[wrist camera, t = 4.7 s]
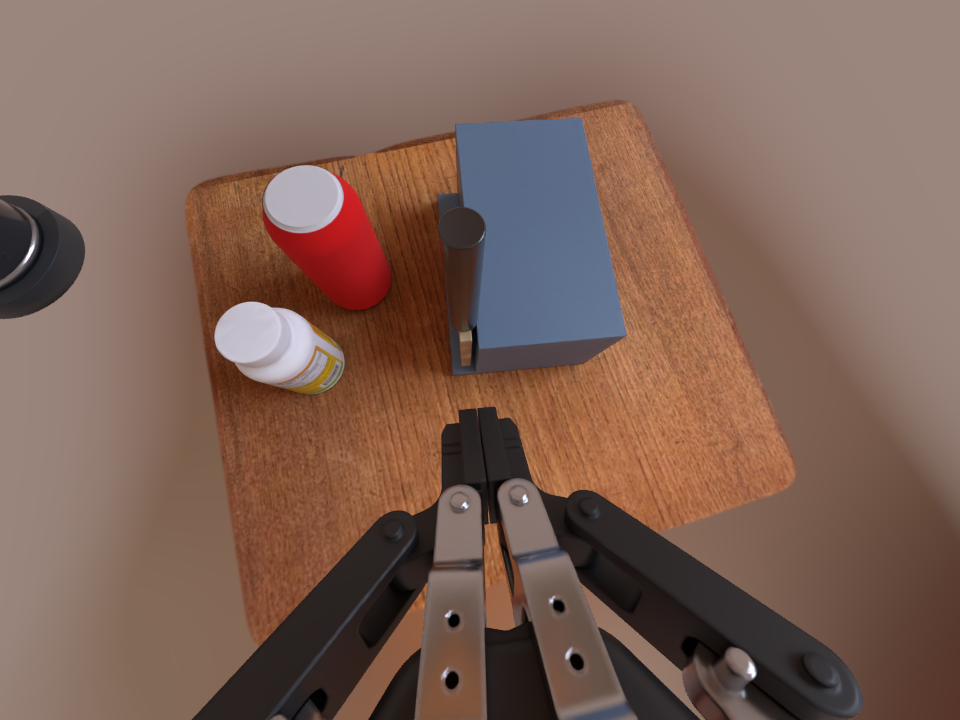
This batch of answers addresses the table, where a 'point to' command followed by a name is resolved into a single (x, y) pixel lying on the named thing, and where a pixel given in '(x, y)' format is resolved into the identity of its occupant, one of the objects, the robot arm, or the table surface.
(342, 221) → the beverage can
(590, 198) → the cabinet
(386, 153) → the table surface
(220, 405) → the table surface
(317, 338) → the supplement bottle
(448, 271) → the brown flat handled piece
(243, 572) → the table surface
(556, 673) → the robot arm
